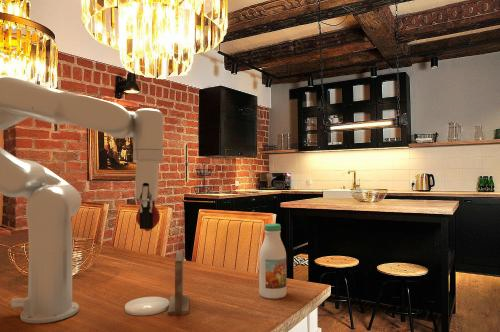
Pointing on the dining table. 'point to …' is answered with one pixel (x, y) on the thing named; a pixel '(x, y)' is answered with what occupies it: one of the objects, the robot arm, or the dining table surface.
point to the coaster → (147, 306)
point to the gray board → (179, 290)
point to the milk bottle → (272, 264)
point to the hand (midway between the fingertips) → (148, 226)
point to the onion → (155, 217)
